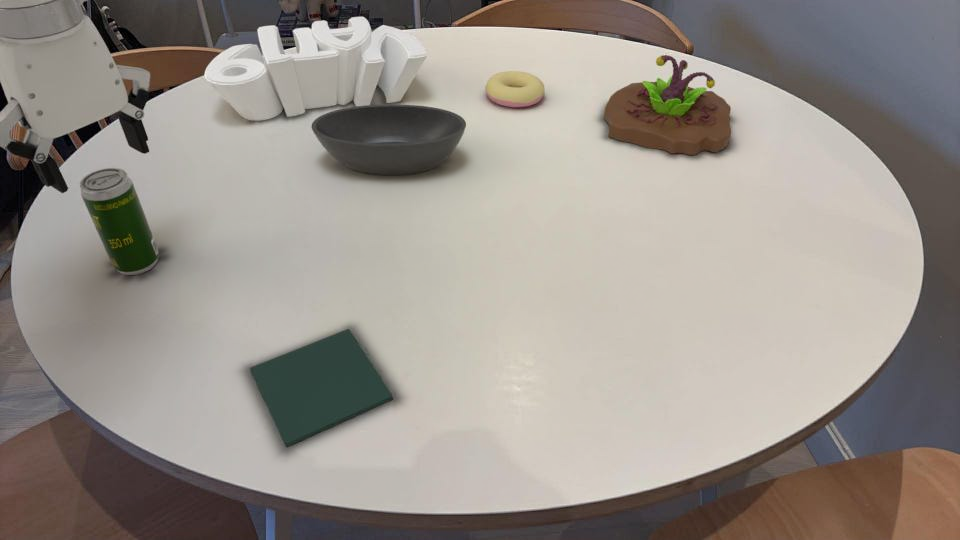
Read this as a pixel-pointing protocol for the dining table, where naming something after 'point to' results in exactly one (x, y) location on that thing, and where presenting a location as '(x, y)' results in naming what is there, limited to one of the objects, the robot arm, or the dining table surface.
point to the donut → (515, 89)
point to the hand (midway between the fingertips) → (100, 167)
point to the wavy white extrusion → (316, 69)
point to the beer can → (119, 220)
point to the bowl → (390, 137)
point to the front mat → (319, 386)
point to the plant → (670, 114)
